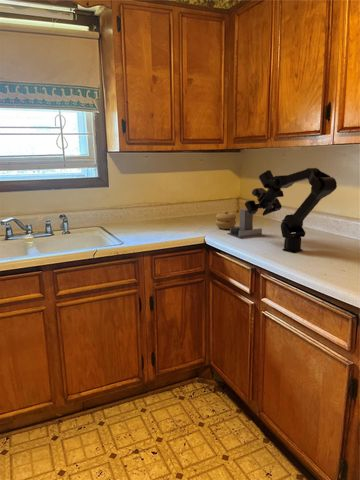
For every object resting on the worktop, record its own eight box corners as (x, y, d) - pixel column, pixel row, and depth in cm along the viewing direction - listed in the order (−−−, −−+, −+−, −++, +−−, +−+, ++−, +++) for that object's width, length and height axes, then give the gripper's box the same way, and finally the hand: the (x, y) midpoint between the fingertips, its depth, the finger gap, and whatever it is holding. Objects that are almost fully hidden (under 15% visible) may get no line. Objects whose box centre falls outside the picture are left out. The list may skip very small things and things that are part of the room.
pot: (219, 225, 223) (219, 209, 220) (238, 227, 218) (239, 210, 215) (212, 229, 212) (212, 212, 210) (232, 231, 207) (232, 213, 205)
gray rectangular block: (252, 234, 197) (253, 209, 194) (244, 235, 195) (245, 210, 192) (246, 232, 201) (247, 208, 198) (238, 233, 199) (239, 209, 196)
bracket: (264, 235, 196) (265, 229, 195) (240, 238, 189) (241, 232, 189) (250, 231, 207) (250, 224, 206) (226, 233, 201) (227, 227, 200)
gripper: (278, 181, 184) (263, 201, 196) (247, 183, 176) (233, 204, 188) (289, 199, 179) (273, 218, 191) (257, 202, 171) (242, 222, 183)
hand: (255, 215), depth 188 cm, fingers open, 9 cm apart
